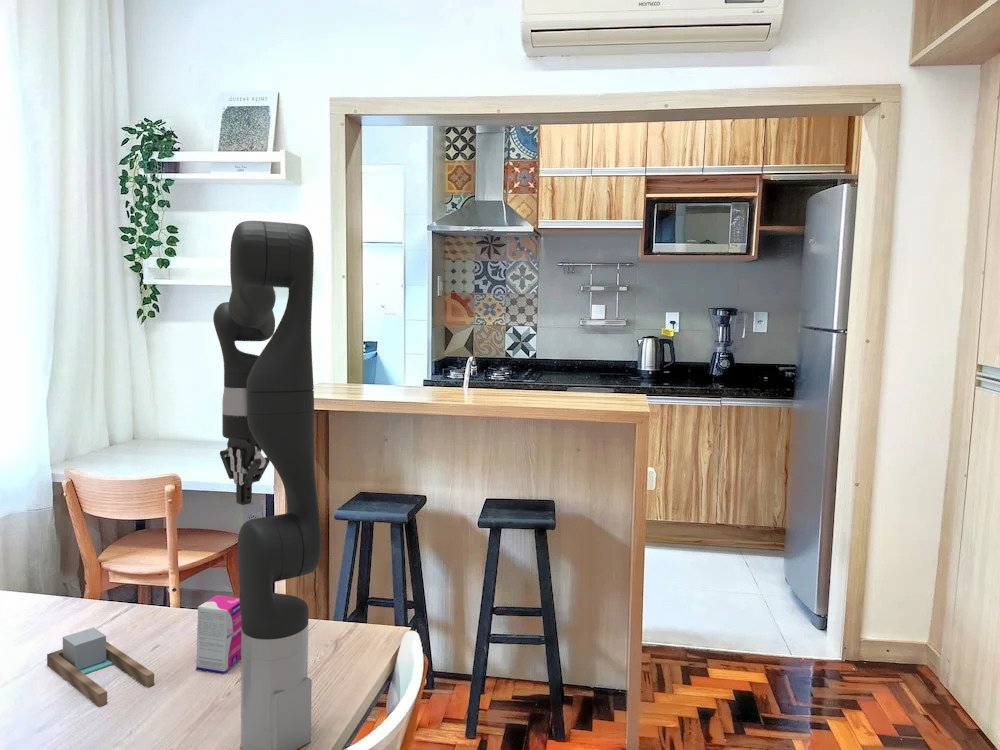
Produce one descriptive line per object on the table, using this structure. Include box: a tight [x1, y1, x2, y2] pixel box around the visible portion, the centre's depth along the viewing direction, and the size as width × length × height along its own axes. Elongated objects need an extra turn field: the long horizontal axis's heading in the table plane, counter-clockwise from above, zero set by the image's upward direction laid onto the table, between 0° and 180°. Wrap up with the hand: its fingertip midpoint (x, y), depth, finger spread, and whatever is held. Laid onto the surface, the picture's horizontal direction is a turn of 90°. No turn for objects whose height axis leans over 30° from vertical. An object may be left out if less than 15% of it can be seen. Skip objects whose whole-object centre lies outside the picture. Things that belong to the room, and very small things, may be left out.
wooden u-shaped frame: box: [46, 641, 155, 708], centre depth 116 cm, size 20×9×2 cm, turn 53°
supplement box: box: [195, 594, 242, 675], centre depth 121 cm, size 6×6×12 cm
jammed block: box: [62, 627, 107, 670], centre depth 120 cm, size 5×5×4 cm
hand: (243, 503), depth 127 cm, fingers closed
